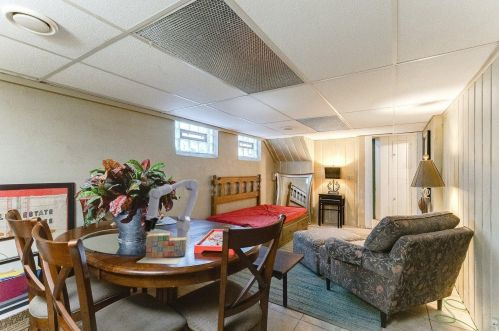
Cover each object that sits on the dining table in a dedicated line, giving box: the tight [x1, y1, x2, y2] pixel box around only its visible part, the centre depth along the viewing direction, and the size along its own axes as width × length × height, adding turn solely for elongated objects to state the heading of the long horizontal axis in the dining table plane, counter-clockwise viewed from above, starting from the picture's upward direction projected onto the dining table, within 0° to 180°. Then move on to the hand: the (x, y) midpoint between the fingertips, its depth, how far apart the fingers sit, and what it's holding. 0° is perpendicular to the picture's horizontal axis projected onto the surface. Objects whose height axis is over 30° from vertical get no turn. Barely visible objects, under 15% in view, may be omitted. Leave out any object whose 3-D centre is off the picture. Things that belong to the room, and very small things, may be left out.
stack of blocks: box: [145, 232, 187, 258], centre depth 134 cm, size 21×6×12 cm, turn 101°
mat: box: [135, 256, 183, 266], centre depth 126 cm, size 8×22×1 cm, turn 83°
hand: (150, 230), depth 142 cm, fingers open, 7 cm apart
